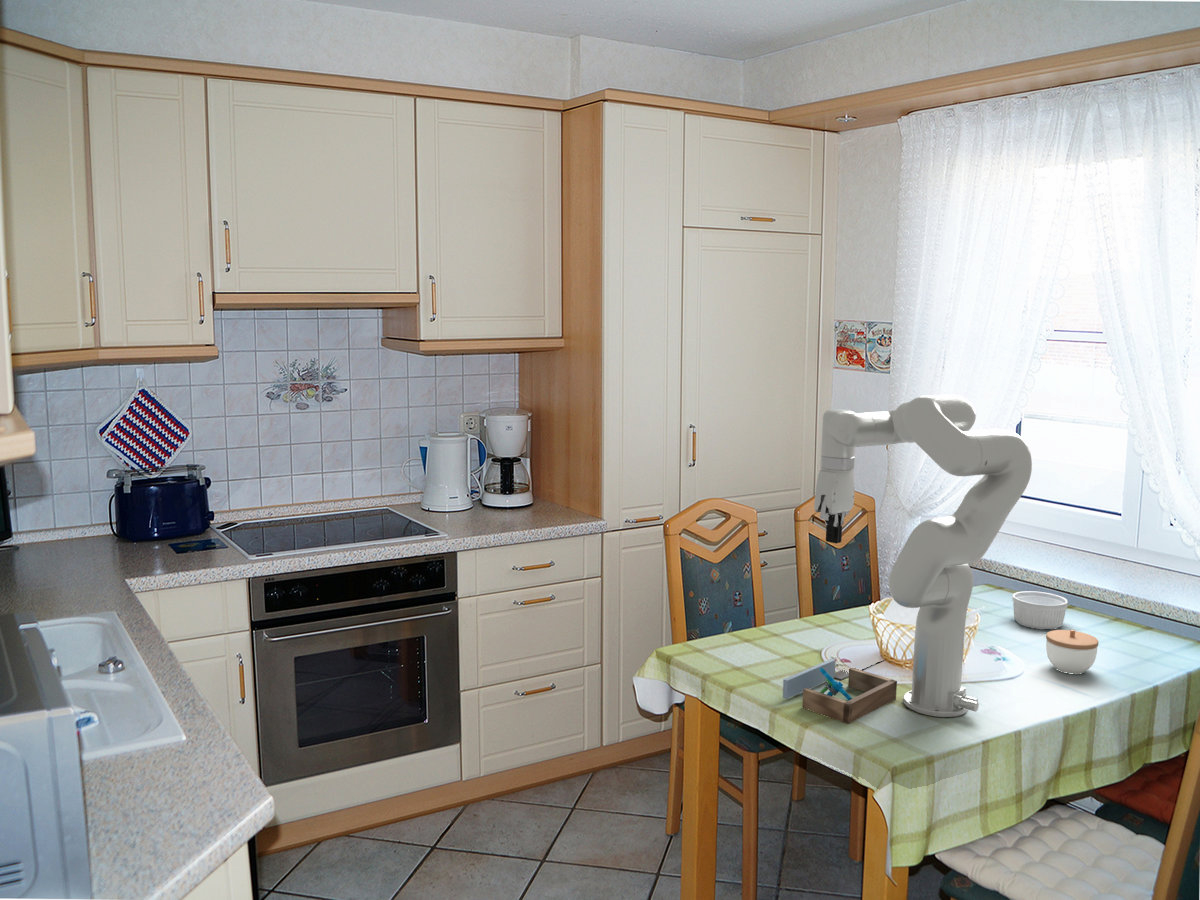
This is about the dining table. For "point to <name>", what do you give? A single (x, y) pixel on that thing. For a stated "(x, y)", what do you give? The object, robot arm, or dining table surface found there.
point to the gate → (807, 678)
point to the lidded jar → (1071, 650)
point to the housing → (874, 697)
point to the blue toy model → (833, 686)
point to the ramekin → (1039, 609)
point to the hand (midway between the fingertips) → (833, 541)
